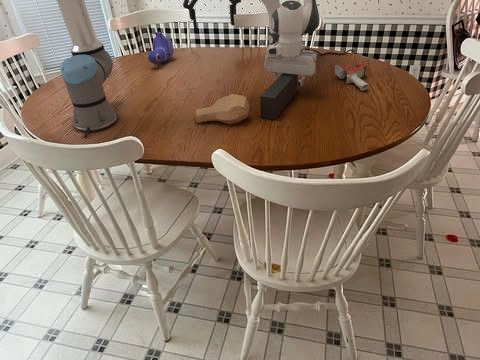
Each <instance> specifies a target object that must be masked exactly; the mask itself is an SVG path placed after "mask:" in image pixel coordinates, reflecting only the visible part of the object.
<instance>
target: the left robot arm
mask: <svg viewBox="0 0 480 360" xmlns="http://www.w3.org/2000/svg"><path fill="white" fill-rule="evenodd" d="M228 1H229V3H231V4H229V21H230V25H231V26H232V27H233V26H235V16H236V15H237V5H238V4H240V3H242V0H228ZM197 2H198V0H191V1H190V0H183V2H182V8H184V9H187V10H188V16H189V19H190V20H192V23H193V29H194V30H195V31H197V30H198V25H197V16H196V15H197V14H196V9H195V8H194V7H195V6H196V4H197ZM56 3H57V6H58V8H59V11H60V14H61V16H62V19H63V21H64V24H65V27H66V30H67V32H68V35H69V38H70V40H71V43H72V46H71V48H70V53H71V56H70V57H67V58H65V59H63V61H62V62H61V63H60V66H59V68H60V72H61V73H60V74H61V77H62V79H63V82H64V84H65V87H66V90H67V93H68V96H69V99H70V101H71V104H72V108H73V114H72V117H73V118H72V119H73V125H74V128H75V129H76V131H78V132H84V136H83V138H86V139H87V136H88V133H92V132H99V131H102V130H105V129H107V128H110V127H111V126H113V125H115V124H116V122H117V121H118V116H117V114H116V111H115V110H114V108H113V107H112V105H111V103H110V102H109V101H108V99H107V96H106V92H105V89H104V87H103V86H104V85H103V84H104V83H105V82H106V80H107V79H108V78H109V77H110V76H111V73H112V71H113V66H114V64H113V63H114V62H113V59H112V56H111V54H110V53H109V52H108V51H107V50H106V49H105V46H104V44H103V42H102V41H100V40H98V38H97V35H96V32H95V29H94V26H93V23H92V21H91V17H90V13H89V11H88V8H87V4H86V2H85V0H56Z"/></svg>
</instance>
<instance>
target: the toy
mask: <svg viewBox="0 0 480 360" xmlns="http://www.w3.org/2000/svg"><path fill="white" fill-rule="evenodd" d="M151 34H152V35H155V36H154V38H153V43H152V50H150V51H148V53H147V56H146V59H147V60H148V61H149V62H150V63H151V64H154V67H155V69H158V68H157V67H158V64H161V63H164V62H167V61H168V60H170V59H171V58H172V57H173V56H174V54H175V53H174V52H175V48H174V44H173V41H172V40H171V38H170V37H169V36H168V35H164V34H163V33H162V32H161V31H158V32H157V31H154V32H152V33H151Z"/></svg>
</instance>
